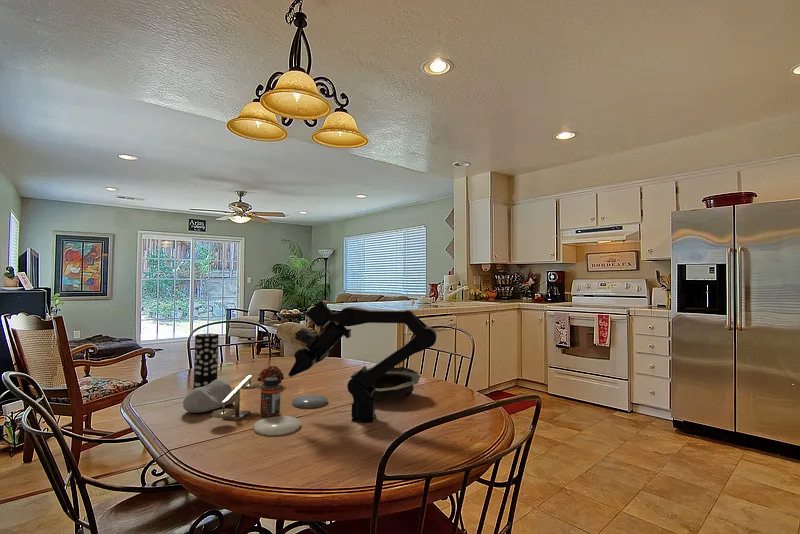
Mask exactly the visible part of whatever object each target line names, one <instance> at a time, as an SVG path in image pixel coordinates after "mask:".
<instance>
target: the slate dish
mask: <svg viewBox="0 0 800 534" xmlns="http://www.w3.org/2000/svg"><path fill="white" fill-rule="evenodd" d="M291 404H292V405H291V406H293V407H296V408H300V409H314V408H320V407H323V406H326V405H327V404H328V398H327V397H326V396H323V395H318V394H306V395H299V396H296V397H294V398H292V400H291Z"/></svg>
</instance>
